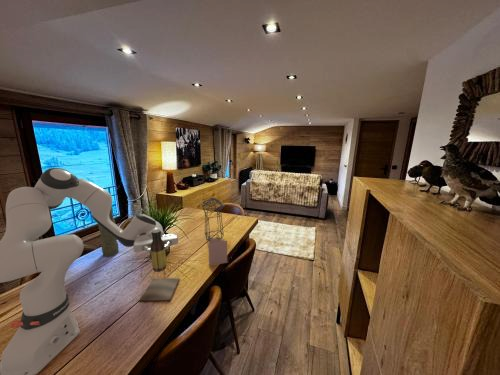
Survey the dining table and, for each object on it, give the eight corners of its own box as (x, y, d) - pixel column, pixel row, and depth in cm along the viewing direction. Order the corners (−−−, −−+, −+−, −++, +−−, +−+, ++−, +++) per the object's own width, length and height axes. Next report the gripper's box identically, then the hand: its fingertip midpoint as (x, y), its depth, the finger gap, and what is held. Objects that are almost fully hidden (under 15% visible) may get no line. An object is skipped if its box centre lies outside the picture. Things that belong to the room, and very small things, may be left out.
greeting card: (227, 261, 125) (227, 240, 122) (223, 268, 118) (222, 246, 115) (211, 258, 128) (211, 237, 125) (206, 265, 121) (205, 243, 118)
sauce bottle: (167, 264, 99) (165, 227, 95) (165, 271, 93) (163, 233, 89) (153, 265, 98) (151, 228, 94) (150, 273, 92) (147, 234, 88)
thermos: (109, 259, 125) (102, 206, 117) (98, 254, 129) (90, 204, 122) (123, 252, 132) (117, 203, 125) (112, 248, 137) (105, 200, 130)
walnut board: (170, 301, 92) (169, 299, 92) (139, 302, 91) (139, 300, 91) (179, 280, 107) (179, 278, 107) (153, 280, 106) (152, 278, 106)
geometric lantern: (226, 243, 148) (225, 199, 140) (205, 247, 142) (203, 201, 134) (221, 234, 162) (220, 193, 154) (202, 237, 157) (200, 195, 148)
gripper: (176, 239, 110) (181, 250, 98) (134, 246, 100) (134, 260, 88) (176, 228, 109) (180, 239, 97) (133, 235, 99) (132, 248, 87)
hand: (158, 249), depth 92 cm, fingers closed on sauce bottle, 6 cm apart
